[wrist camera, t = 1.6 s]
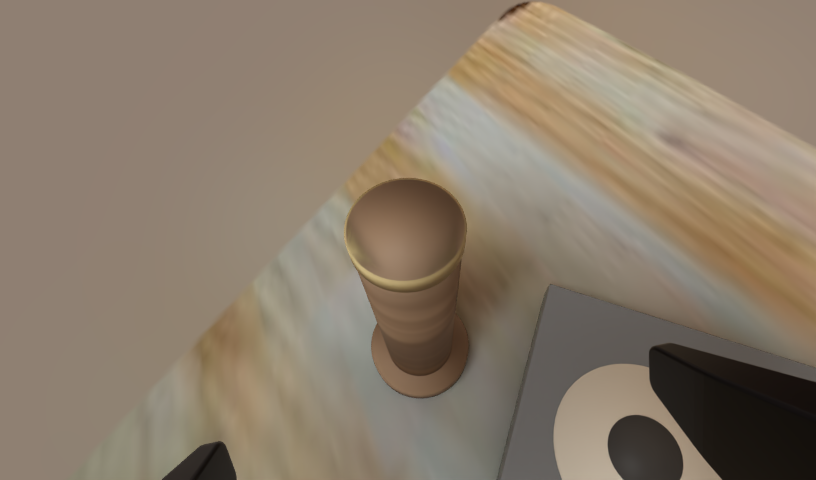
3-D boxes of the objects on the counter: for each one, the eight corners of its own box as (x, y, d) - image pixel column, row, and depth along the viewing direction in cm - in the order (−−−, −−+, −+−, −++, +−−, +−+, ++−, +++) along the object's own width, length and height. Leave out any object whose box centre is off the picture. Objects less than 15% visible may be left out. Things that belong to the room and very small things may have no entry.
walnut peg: (449, 414, 19) (463, 343, 9) (358, 376, 20) (280, 275, 10) (478, 322, 21) (518, 181, 11) (395, 293, 22) (361, 140, 12)
